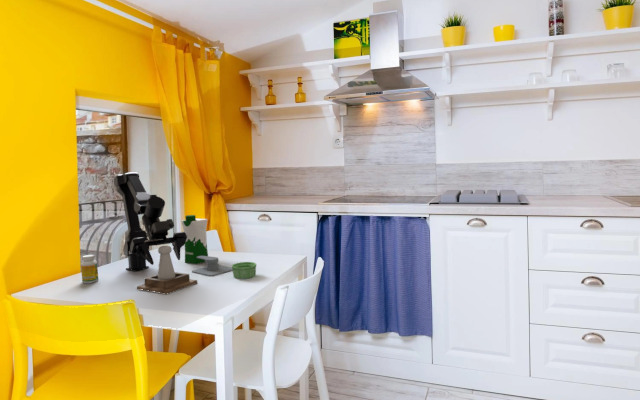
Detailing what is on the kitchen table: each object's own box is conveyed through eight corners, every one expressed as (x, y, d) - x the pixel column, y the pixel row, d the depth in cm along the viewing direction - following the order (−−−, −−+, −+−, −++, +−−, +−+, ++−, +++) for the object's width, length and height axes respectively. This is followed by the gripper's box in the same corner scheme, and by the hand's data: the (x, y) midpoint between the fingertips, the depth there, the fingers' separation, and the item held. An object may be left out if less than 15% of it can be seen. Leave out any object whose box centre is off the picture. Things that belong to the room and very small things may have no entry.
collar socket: (137, 289, 156) (136, 279, 156) (168, 278, 168) (168, 269, 168) (166, 294, 149) (165, 283, 149) (197, 283, 162) (196, 273, 161)
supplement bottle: (82, 280, 170) (80, 255, 169) (98, 278, 172) (96, 253, 171) (82, 284, 165) (79, 258, 164) (98, 282, 167) (96, 256, 166)
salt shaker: (156, 282, 160) (154, 245, 159) (173, 279, 163) (171, 243, 162) (160, 286, 155) (157, 248, 154) (177, 283, 158) (175, 246, 156)
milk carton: (181, 262, 194) (178, 215, 192) (197, 258, 201) (195, 213, 199) (196, 265, 189) (193, 216, 187) (212, 260, 196) (209, 214, 194)
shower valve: (211, 252, 188) (236, 256, 179) (212, 265, 189) (236, 270, 179) (185, 258, 178) (210, 263, 169) (186, 272, 179) (211, 277, 170)
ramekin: (245, 281, 163) (244, 268, 162) (227, 277, 168) (226, 266, 167) (262, 274, 170) (261, 263, 170) (244, 272, 175) (243, 260, 175)
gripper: (130, 215, 154) (142, 252, 147) (183, 209, 166) (198, 243, 159) (125, 235, 161) (136, 271, 154) (176, 228, 173) (190, 262, 165)
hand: (166, 261), depth 158 cm, fingers open, 9 cm apart
